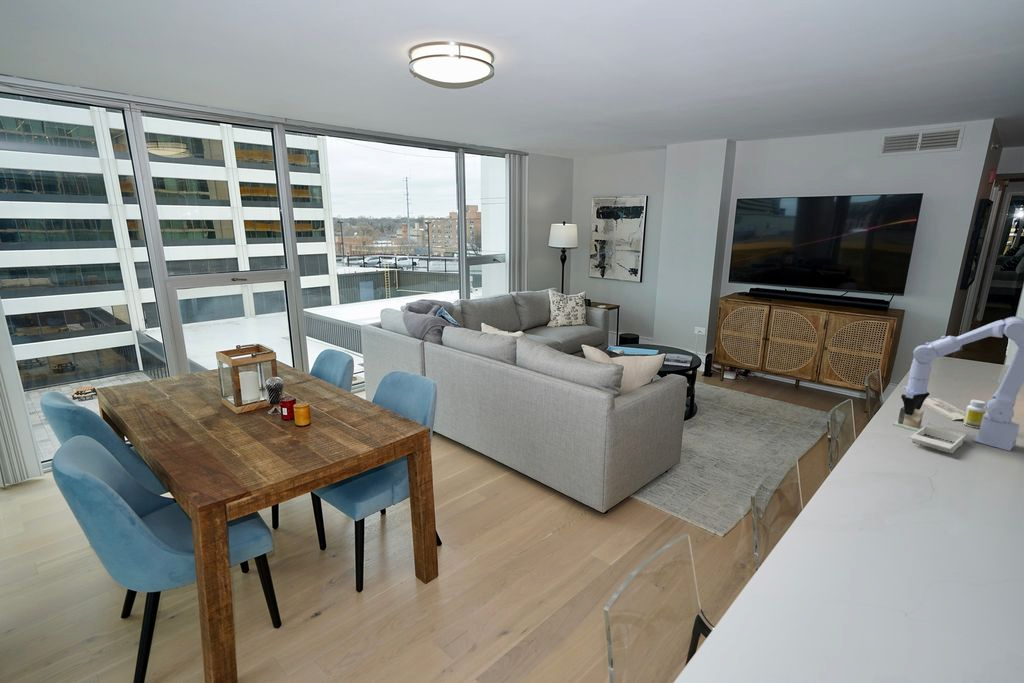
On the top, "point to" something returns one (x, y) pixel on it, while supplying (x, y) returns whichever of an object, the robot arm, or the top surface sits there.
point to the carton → (940, 433)
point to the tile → (907, 426)
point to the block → (911, 418)
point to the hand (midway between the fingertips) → (912, 412)
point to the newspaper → (944, 408)
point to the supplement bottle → (974, 413)
